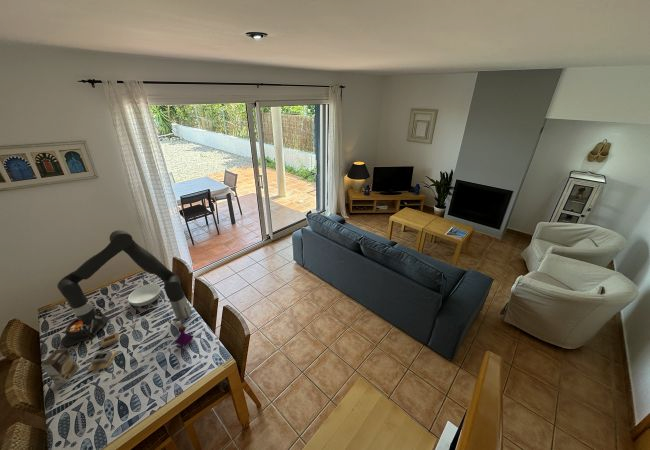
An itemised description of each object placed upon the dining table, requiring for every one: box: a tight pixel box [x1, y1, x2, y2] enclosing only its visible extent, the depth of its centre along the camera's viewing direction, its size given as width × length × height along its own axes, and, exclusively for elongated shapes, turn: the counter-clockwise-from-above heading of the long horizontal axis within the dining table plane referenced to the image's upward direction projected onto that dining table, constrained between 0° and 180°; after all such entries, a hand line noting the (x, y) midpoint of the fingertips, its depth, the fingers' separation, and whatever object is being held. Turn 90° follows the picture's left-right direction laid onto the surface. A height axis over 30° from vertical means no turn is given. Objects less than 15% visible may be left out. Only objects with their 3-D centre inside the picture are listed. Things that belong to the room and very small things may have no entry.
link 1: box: [100, 332, 120, 348], centre depth 163 cm, size 8×5×3 cm
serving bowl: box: [127, 283, 162, 307], centre depth 195 cm, size 21×21×7 cm
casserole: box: [60, 315, 110, 347], centre depth 168 cm, size 25×19×8 cm
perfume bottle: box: [174, 320, 194, 347], centre depth 159 cm, size 8×8×18 cm
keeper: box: [87, 350, 118, 371], centre depth 151 cm, size 10×10×6 cm
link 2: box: [89, 351, 113, 365], centre depth 151 cm, size 8×5×3 cm
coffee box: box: [40, 348, 80, 385], centre depth 141 cm, size 9×6×16 cm
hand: (97, 330), depth 146 cm, fingers open, 8 cm apart
